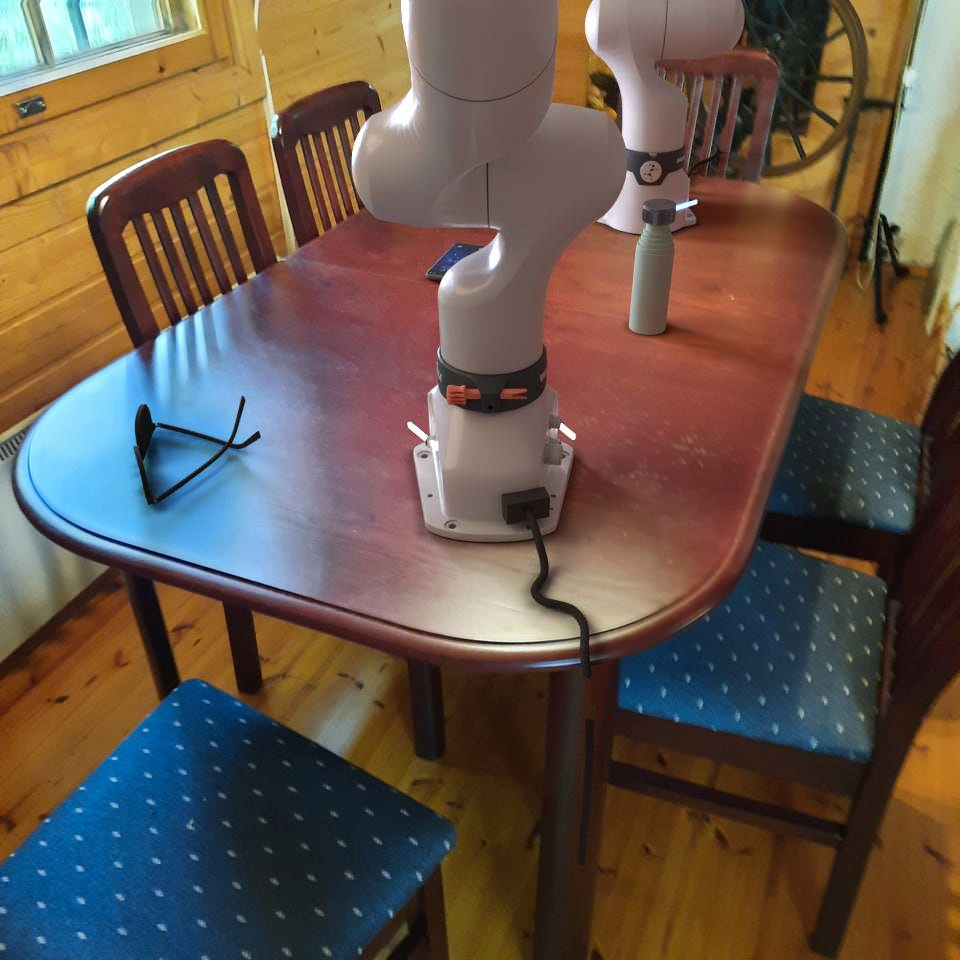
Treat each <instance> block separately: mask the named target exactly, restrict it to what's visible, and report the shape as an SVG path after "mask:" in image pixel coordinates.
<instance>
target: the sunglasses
mask: <svg viewBox="0 0 960 960" xmlns="http://www.w3.org/2000/svg"><path fill="white" fill-rule="evenodd" d="M245 404H246V398H245V396H244V395H241V396H240V401H239V405H238V408H237V409H238V410H237V413H236V417H235V421H234V425H233V429H232V432H231V435H230V437H229V439H228V440H227V441H226V440H223V439H220V438H217V437H214V436H211V435H208V434H204V433H201V432H198V431H195V430H192V429H188V428H184V427H180V426H176V425H172V424H169V423H164V422H159V421H157V422H153V418H152V414H151V411H150V408H149V406H148V404H146V403H142V404H140V405H139V406H138V409H137V411H136V413H135V418H134V436H135V444H136V445H133V447H132V448H133V452H134V455H135V460H136V463H137V467H138V471H139V475H140V479H141V485H142V489H143V493H144V497H145V500H146V503H147V505H148V506H151V505H154V504H155V501H156V503H157V504H160V503H162V501H164V500H165V499H167V498H168V497H170V496H171V495H172V494H174V493H175V492H177V491H178V490H179V489H181V488H182V487H184V486H185V485H187V484H188V483H189V482H191V481H192V480H193V479H194V478H196V477H197V476H198V475H200V474H202V473H203V472H204V471H205V470H206V469H208V467H210V466H211V465H212V464H213V463H215V462H216V461H217V460H218V459H220V457H222V455H223V454H224V453H225V452H226V451H228V449H229V448H231V449H233V450H242V449H246V448H247V447H249V446H250V445H252V444H254V443H255V442H256V441H258V440H260V439H261V438H262V435H261V432H260V430H256V431H255V432H254V433H253V434H252V435H250V436H249V437H248V438H247V439H246V440H245V441H244V442H241V443H233V442H234V441H235V438H236V435H237V434H238V429H239V426H240V423H241V419H242V415H243V412H244V409H245ZM157 428H160V429H164V430H168V431H172V432H175V433H179V434H183V435H188V436H191V437H195V438H199V439H202V440H205V441H209V442H211V443H215V444H218V445H221V446H223V447H221V449H220V450H219V451H217V452H216V453H215V454H214V455H213V456H212V457H211V458H209V459H208V460H207V461H206V462H204V463H203V464H202V465H200V466H199V467H198V468H196V469H195V470H193V471H192V472H191V473H189V474H188V475H187V476H186V477H184V478H183V479H180V481H178V482H177V483H176V484H174V485H172V486H171V487H169V488H168V489H166V490H165V491H163V492H162V493H161V494H160V495H158V496H157V497H154V495H152V491H151V487H150V484H149V479H148V474H147V470H146V467H145V463H144V461H145V459H146V456H147V453H148V450H149V448H150V445H151V442H152V438H153V435H154V432H155V430H157Z"/></svg>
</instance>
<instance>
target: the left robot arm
mask: <svg viewBox="0 0 960 960" xmlns="http://www.w3.org/2000/svg"><path fill="white" fill-rule="evenodd" d="M400 4H401V6H400V7H401V19H402V27H403V33H404V40H405V45H406V51H407V56H408V57H407V58H408V62H409V69H410V77H411V79H410V81H411V88H410V90H408V92H407V93H406V94H405V95H404V96H403V97H402V98H401V99H400V100H399V101H397V102H395V103H394V104H393V105H391V106H389V107H388V108H385V109H383V110H382V111H379V112H377V113H374V114H372V115H370V116H369V118H368V119H366V121H365V122H364V124H363V125H362V127H361V129H360V130H359V132H358V134H357V137H356V138H355V141H354V144H353V149H352V154H351V176H352V180H353V184H354V187H355V190H356V193H357V195H358V197H359V199H360V201H361V202H362V204H363V205H364V207H365V208H366V210H367V211H368V212H369V213H370V214H371V215H372V216H373V217H374V218H375V219H377V220H379V221H383V222H388V223H392V224H397V225H403V226H409V227H413V228H419V229H484V228H485V229H486V228H487V229H488V228H489V229H494V230H496V231H497V233H496V235H495V237H494V238H493V239H492V240H491V241H490V242H489V243H488V244H487V245H485V246H486V247H484V248H482V249H481V250H479V251H477V252H475V253H473V254H471V255H469V256H467V257H465V258H463V259H461V260H460V261H459V262H457V263H456V264H455V265H453V266H452V267H451V268H450V269H449V270H448V271H447V273H446V274H445V275H444V277H443V279H442V281H440V283H439V286H438V290H437V307H438V324H439V326H438V327H439V340H440V341H439V342H440V345H439V346H438V348H437V354H436V356H437V358H436V363H435V364H436V376H437V384H436V385H435V387H434V386H433V388H432V389H431V390H430V391H428V392H427V406H428V407H427V409H428V424H429V435H427V434H425V433H424V432H423V431H422V430H421V429H420V428H419V427H418V426H416V425H415V424H413V423H412V422H411V421H409V422H407V427H408V429H410V430H411V431H412V432H413V433H414V434H416V435H417V436H418V437H419V438H420V439H422V440H423V441H424V442H422V443H419V444H417V445H416V446H415V447H414V448H413V454H412V455H413V457H412V458H413V464H414V470H415V475H416V476H415V477H416V480H417V487H418V492H419V498H420V499H419V500H420V503H421V504H420V505H421V510H422V516H423V522H424V526H425V529H426V530H427V531H428V532H429V533H432V534H434V535H437V536H440V537H443V538H448V539H452V540H457V541H466V542H477V543H478V542H480V543H500V542H501V543H502V542H503V543H506V542H518V541H527V540H531V539H533V541H534V544H535V548H536V552H537V555H538V559H539V566H540V570H539V575H538V577H536V579H535V580H534V581H533V583H532V585H530V595H531V597H532V599H533V600H534V601H535V602H536V603H537V604H539V605H541V606H543V607H546V608H551V609H556V610H560V611H564V612H566V613H568V614H570V615H571V616H572V617H573V618H574V619H575V621H576V623H578V626H579V635H580V636H579V658H580V659H579V660H580V669H581V674H582V676H583V678H585V679H591V677H592V674H593V673H592V665H591V657H590V656H591V655H590V642H591V641H590V638H591V637H590V635H591V634H590V626H589V623H588V621H587V618H586V617H585V616H586V615H584V613H583V612H582V611H581V610H580V609H579V608H578V607H577V606H575V605H574V604H572V603H570V602H567V601H563V600H558V599H553V598H550V597H546V596H545V595H542V594H541V591H540V590H541V588H542V586H543V585H544V584H545V582H546V580H547V579H548V578H549V577H548V576H549V573H550V572H549V571H550V564H549V557H548V553H547V550H546V546H545V543H544V539H543V536H546V535H548V534H550V533H552V532H554V531H556V530H557V527H558V525H559V520H560V518H561V517H560V516H561V512H562V508H563V504H564V500H565V497H566V492H567V488H568V483H569V480H570V476H571V472H572V469H573V468H572V467H573V464H574V459H575V450H574V447H573V446H571V445H570V444H568V443H566V442H563V441H561V439H560V438H558V430H560V431H561V432H562V433H564V434H565V435H566V436H567V437H569V438H570V439H571V440H572V441H573V440H576V433H574V432H573V431H572V430H571V429H569V428H568V427H567V426H566V425H565V424H563V423H562V416H559V392H557V391H556V390H555V389H554V388H553V387H552V386H551V385H550V384H549V383H548V382H547V379H548V367H549V361H548V356H547V355H548V354H547V353H548V351H547V347H546V345H545V344H544V332H545V331H544V330H545V329H544V328H545V316H546V307H547V298H548V292H549V287H550V282H551V279H552V276H553V274H554V272H555V269H556V267H557V265H558V264H559V262H560V261H561V259H562V257H563V256H564V254H565V252H566V251H567V249H568V248H569V247H570V246H571V245H572V243H573V242H574V241H575V240H576V239H577V238H578V237H579V236H580V235H581V234H582V233H583V232H584V231H585V230H587V228H589V227H590V226H591V225H593V224H594V223H597V220H599V219H600V218H602V217H603V216H604V215H605V214H606V213H607V212H608V211H609V210H610V209H611V208H612V207H613V205H614V204H615V202H616V201H617V199H618V197H619V195H620V193H621V191H622V189H623V186H624V183H625V179H626V173H627V151H626V146H625V142H624V139H623V137H622V131H621V130H620V128H619V127H618V125H617V123H616V122H615V121H614V119H613V118H612V117H611V116H610V115H609V114H608V113H607V112H606V111H602V110H597V109H594V108H589V107H583V106H580V105H574V104H568V103H562V102H552V101H553V96H554V89H555V77H556V76H555V75H556V61H557V60H556V59H557V47H558V35H559V33H558V32H559V15H560V14H559V10H560V9H559V0H400ZM584 723H585V724H584V737H585V738H584V739H585V743H584V746H585V747H584V778H583V791H582V793H583V794H582V805H581V816H580V823H579V824H580V825H579V835H578V836H579V837H578V846H577V848H578V849H577V865H579V866H584V865H585V864H586V860H587V859H586V858H587V845H588V833H589V825H590V816H591V806H592V797H593V787H594V786H593V785H594V769H595V719H592V718H585V719H584Z"/></svg>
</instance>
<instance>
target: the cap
mask: <svg viewBox="0 0 960 960" xmlns="http://www.w3.org/2000/svg"><path fill="white" fill-rule="evenodd" d="M675 216H676V203H675V202H673V201H671V200H667V199H650V200H647V201H645V202H644V203H643V209H642V220H643V221H644V222H645V223H647V224H651V225H668V224H672V223H673V222H674V221H675Z"/></svg>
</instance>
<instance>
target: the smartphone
mask: <svg viewBox="0 0 960 960" xmlns="http://www.w3.org/2000/svg"><path fill="white" fill-rule="evenodd" d="M486 246H487V245H479V244H472V243H471V244H470V243H463V242H455V243H453V244H452V245H451V246H450V247H449V248H448V250H446V251H445V252H444V253H443V254H442V255H441V256H440V258H438V259H437V260H436V262H435V263H434V264H433V265H431V267H430V268H429V269H428V270H427V271H426V272H425V274H424V275H425V278H426V279H427V280H433V281H440V282H441V281H442V279H443V277H444V275H445V274H446V273H447V271H448V270H449V269H450V268H451V267H452V266H453V265H455V264H456V263H457V262H459V261H460V260H461V259H463V258H465V257H467V256H469V255H471V254H473V253H475V252H477V251H479V250H481V249H482V248H484V247H486Z"/></svg>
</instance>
